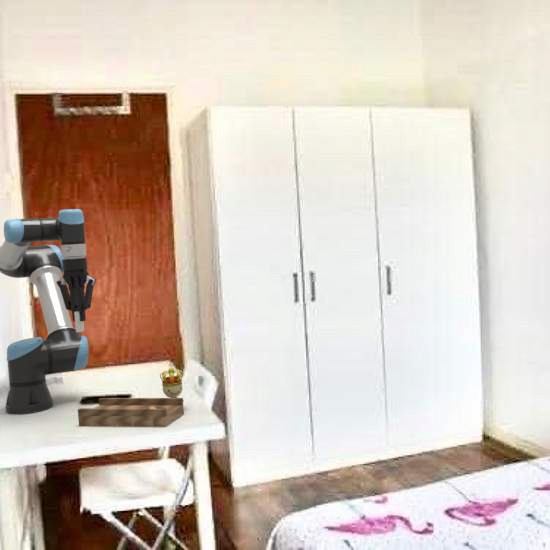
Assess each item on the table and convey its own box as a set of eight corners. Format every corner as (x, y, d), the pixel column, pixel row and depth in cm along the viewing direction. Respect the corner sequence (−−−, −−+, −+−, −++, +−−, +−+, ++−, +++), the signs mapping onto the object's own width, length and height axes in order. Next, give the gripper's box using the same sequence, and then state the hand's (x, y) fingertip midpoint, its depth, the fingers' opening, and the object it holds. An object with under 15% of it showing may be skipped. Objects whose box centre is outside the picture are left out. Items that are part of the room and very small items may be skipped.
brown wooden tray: (78, 425, 206) (77, 409, 206) (101, 413, 220) (100, 398, 220) (165, 426, 200) (164, 409, 199) (183, 413, 213) (182, 397, 213)
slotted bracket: (63, 383, 274) (62, 364, 274) (45, 386, 271) (43, 366, 271) (59, 378, 286) (57, 359, 285) (41, 380, 283) (40, 361, 283)
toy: (166, 414, 214) (163, 366, 213) (159, 409, 221) (156, 363, 220) (188, 410, 217) (185, 363, 217) (180, 405, 224) (177, 360, 223)
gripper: (49, 259, 218) (55, 333, 219) (86, 257, 214) (92, 332, 216) (62, 258, 225) (68, 330, 226) (98, 256, 222) (104, 329, 223)
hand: (80, 331), depth 221 cm, fingers closed
